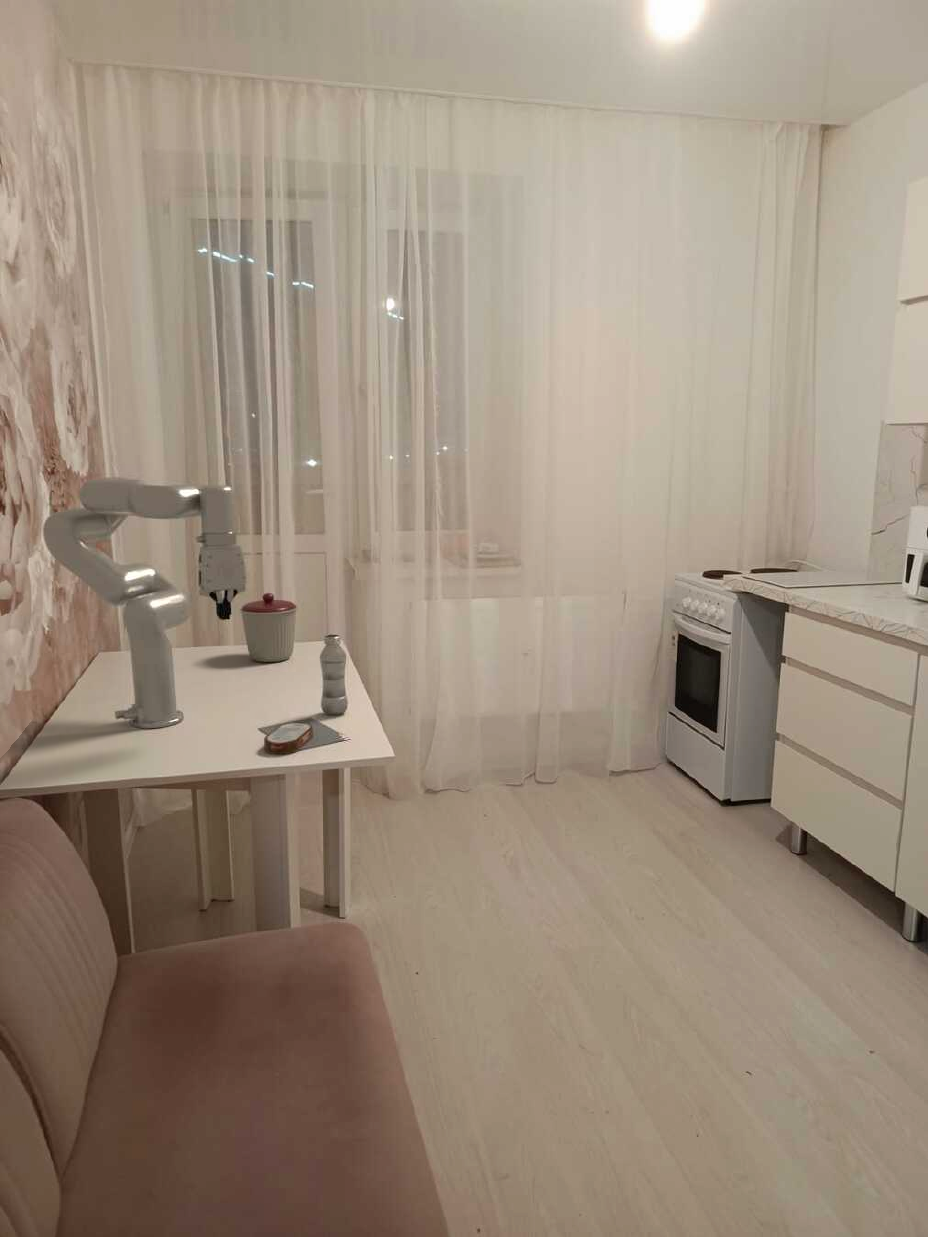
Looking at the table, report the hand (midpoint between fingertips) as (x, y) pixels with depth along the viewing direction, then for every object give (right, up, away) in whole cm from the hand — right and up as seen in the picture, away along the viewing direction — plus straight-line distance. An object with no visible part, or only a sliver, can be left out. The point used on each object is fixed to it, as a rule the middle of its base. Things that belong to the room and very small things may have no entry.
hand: (224, 618), depth 207 cm
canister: (-5, -13, +75) cm, 76 cm away
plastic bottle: (+23, -24, +18) cm, 38 cm away
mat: (+18, -27, +2) cm, 33 cm away
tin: (+12, -26, -4) cm, 29 cm away
